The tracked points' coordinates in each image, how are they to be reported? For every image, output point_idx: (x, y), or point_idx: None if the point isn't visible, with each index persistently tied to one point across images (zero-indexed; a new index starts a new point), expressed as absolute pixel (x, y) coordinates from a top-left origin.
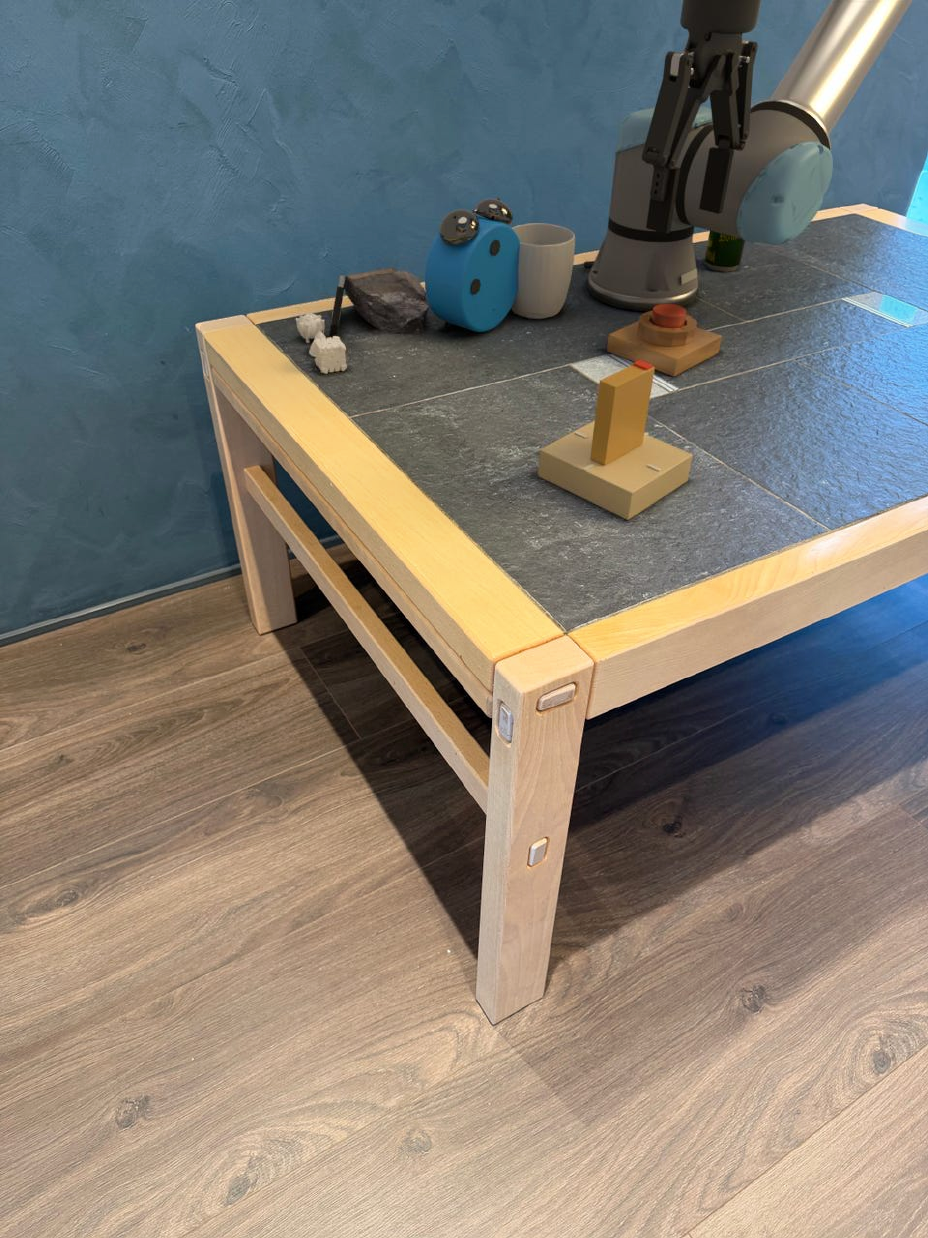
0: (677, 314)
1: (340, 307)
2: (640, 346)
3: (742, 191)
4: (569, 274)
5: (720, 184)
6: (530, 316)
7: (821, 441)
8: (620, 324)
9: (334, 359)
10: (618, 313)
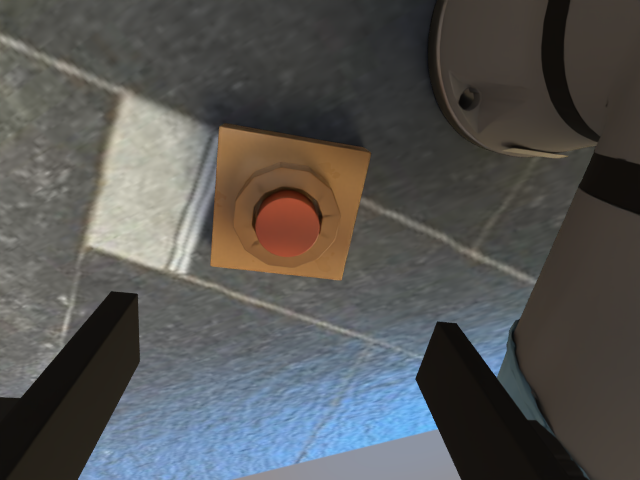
0: (275, 248)
1: None
2: (215, 198)
3: (556, 415)
4: None
5: (454, 447)
6: None
7: (185, 426)
8: (354, 83)
9: None
10: (404, 52)
